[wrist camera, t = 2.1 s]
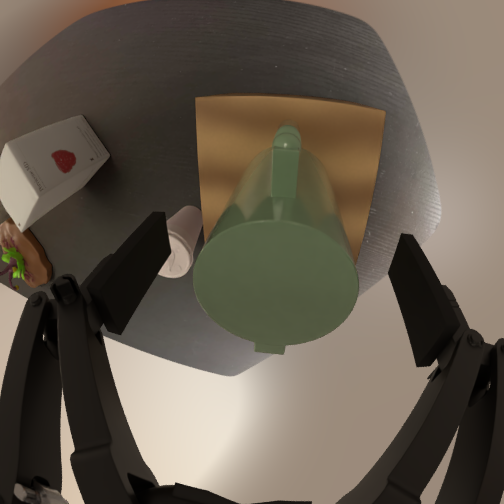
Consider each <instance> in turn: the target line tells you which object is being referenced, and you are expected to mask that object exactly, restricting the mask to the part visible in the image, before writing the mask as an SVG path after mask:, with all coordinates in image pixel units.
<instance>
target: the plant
mask: <svg viewBox="0 0 504 504" xmlns="http://www.w3.org/2000/svg"><path fill="white" fill-rule="evenodd" d="M0 243H1V246H2V249H3V252H4V254H3V255H2V258H1V259H2V260H3V261H5V262H8V263H9V265H8V266H7V267H6V269H4V271H2V272H0V275H3V274H5V273H7V272H9V283H10V286H11V288H13V289H14V290H18V289H19V286H17V285H16V286H15V287H13V286H12V284H11V283H12V282H11V279H12V275H13V277H14V278H16V276H18V278H20V277H21V278H22V279H23V280H24V281H25V282H26V283H27V284H28V285H29V286H31V287H33V288H35V287H37V286H39V285H41V284H43V283H45V284H46V283H47V282H48V281H49V280H50V279H51V275H52V265H51V263H50V262H49V261H48V260H47V258H46V256H45V253H44V249H43V247H42V246H41V245H40V243H39V242H38V241H37V240H36V238H35V237H34V235H33V234H32V233H31V231H30V230H29V228H27V229H26V230H25V231H23V232H21V231H20V230H19V228H18V227H17V225H16V224H15V222H14V221H13V219H12V218H11V217H10V218H9V219H7V220H6V221H5V222H4V223H2V224H1V225H0Z"/></svg>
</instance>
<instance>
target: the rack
mask: <svg viewBox="0 0 504 504" xmlns="http://www.w3.org/2000/svg"><path fill="white" fill-rule="evenodd" d="M195 102H196V128H197V148H198V165H199V180H200V193H201V206H202V217H203V228H204V239H205V242H206V240H207V238H208V236H209V234H210V232H211V230H212V229H213V227H214V225H215V223H216V221H217V219H218V217H219V216H220V214H221V212H222V210H223V208H224V207H225V205H226V203H227V201H228V199H229V198H230V196H231V194H232V192H233V190H234V189H235V187H236V185H237V183H238V182H239V180H240V178H241V176H242V175H243V173H244V171H245V169H246V168H247V166H248V164H249V163H250V162H251V160H252V159H253V158H254V157H255V156H256V155H257V154H259V153H260V152H262V151H263V150H265V149H267V148H270V147H272V142H273V139H274V137H275V134H276V132H277V130H278V127H279V125H280V123H281V122H282V121H284V120H286V119H291V120H294V121H295V122H297V124H298V125H299V129H300V137H301V145H302V148H303V149H306V150H308V151H309V152H311V153H312V154H314V155H315V156H316V157H317V158H318V159H319V160H320V161H321V162H322V164H323V165H324V167H325V168H326V170H327V173H328V176H329V178H330V181H331V184H332V187H333V190H334V193H335V196H336V199H337V202H338V206H339V209H340V212H341V215H342V219H343V222H344V225H345V229H346V232H347V236H348V239H349V243H350V246H351V250H352V254H353V258H354V262H355V265H356V262H357V259H358V255H359V251H360V248H361V244H362V240H363V236H364V232H365V228H366V224H367V219H368V215H369V211H370V206H371V201H372V197H373V192H374V187H375V181H376V176H377V170H378V165H379V159H380V152H381V146H382V139H383V131H384V123H385V114H386V111H383V110H380V109H377V108H373V107H370V106H366V105H363V104H359V103H355V102H350V101H344V100H337V99H330V98H322V97H313V96H303V95H290V94H272V93H227V94H218V95H210V96H203V97H196V98H195Z"/></svg>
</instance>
